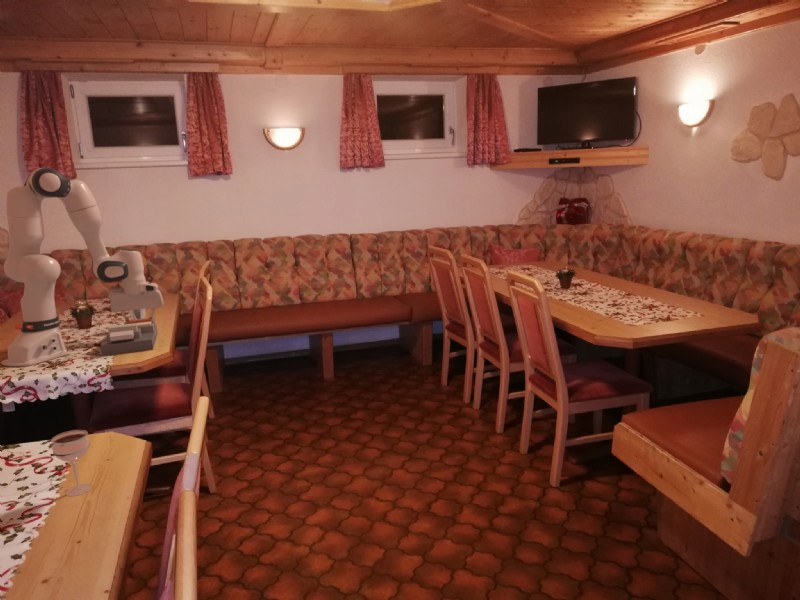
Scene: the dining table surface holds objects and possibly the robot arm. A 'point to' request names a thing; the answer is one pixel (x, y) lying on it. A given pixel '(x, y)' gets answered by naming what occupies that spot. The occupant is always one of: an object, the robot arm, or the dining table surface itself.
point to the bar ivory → (144, 324)
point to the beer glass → (138, 314)
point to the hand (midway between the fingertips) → (139, 319)
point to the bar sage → (123, 328)
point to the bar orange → (139, 321)
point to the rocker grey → (121, 335)
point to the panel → (131, 341)
